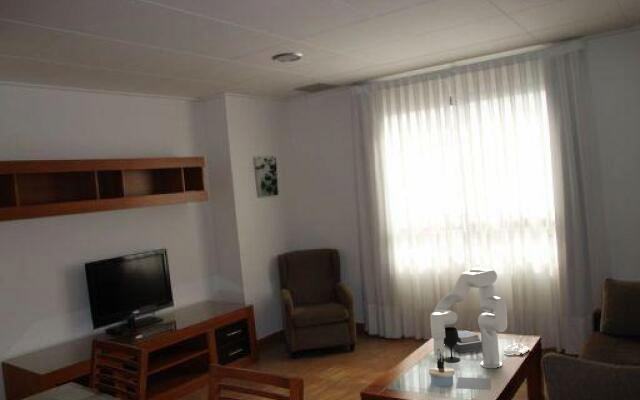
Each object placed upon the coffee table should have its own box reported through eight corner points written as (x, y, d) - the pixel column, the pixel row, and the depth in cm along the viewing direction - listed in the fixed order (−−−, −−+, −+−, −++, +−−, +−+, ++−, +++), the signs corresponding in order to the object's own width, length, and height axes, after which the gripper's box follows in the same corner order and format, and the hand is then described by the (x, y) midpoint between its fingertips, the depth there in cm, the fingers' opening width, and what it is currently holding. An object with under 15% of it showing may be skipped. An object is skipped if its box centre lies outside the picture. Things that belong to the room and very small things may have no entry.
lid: (430, 368, 306) (429, 357, 306) (455, 369, 301) (454, 358, 301) (427, 377, 293) (426, 366, 292) (453, 378, 288) (452, 367, 288)
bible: (452, 355, 343) (451, 340, 342) (441, 343, 370) (440, 329, 369) (488, 351, 344) (486, 336, 343) (474, 339, 371) (473, 326, 370)
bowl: (432, 379, 305) (432, 369, 304) (454, 380, 301) (453, 369, 301) (430, 387, 293) (429, 376, 293) (452, 388, 289) (451, 377, 289)
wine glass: (442, 362, 330) (440, 331, 329) (444, 357, 340) (441, 326, 339) (460, 363, 327) (457, 331, 326) (460, 357, 337) (458, 326, 336)
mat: (458, 378, 303) (458, 377, 303) (491, 379, 297) (490, 378, 297) (456, 389, 288) (455, 388, 288) (490, 390, 282) (490, 389, 282)
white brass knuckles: (520, 358, 326) (498, 354, 337) (533, 350, 338) (512, 346, 349) (519, 353, 326) (498, 349, 337) (533, 345, 338) (512, 341, 349)
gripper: (433, 330, 306) (436, 361, 306) (429, 339, 289) (432, 371, 290) (446, 330, 303) (449, 361, 304) (443, 339, 287) (446, 372, 287)
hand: (441, 366), depth 297 cm, fingers open, 5 cm apart
